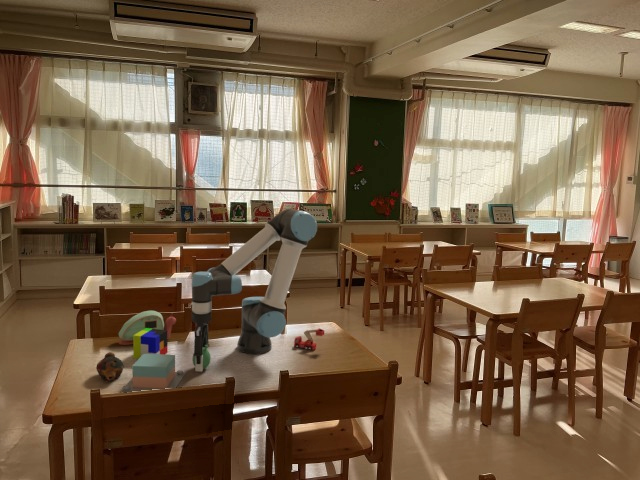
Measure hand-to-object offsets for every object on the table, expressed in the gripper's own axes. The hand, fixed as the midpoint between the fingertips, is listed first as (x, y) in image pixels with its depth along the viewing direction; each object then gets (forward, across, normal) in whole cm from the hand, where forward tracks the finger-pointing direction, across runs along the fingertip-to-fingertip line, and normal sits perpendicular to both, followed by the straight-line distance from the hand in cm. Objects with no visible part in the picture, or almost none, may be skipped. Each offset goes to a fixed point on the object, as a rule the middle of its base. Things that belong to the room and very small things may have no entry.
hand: (201, 366), depth 211 cm
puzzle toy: (+1, -12, -24) cm, 27 cm away
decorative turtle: (+1, +11, -32) cm, 34 cm away
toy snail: (+1, -30, -31) cm, 43 cm away
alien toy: (+1, 0, 0) cm, 1 cm away
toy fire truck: (+1, -27, +42) cm, 50 cm away
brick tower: (+1, +15, -14) cm, 21 cm away
